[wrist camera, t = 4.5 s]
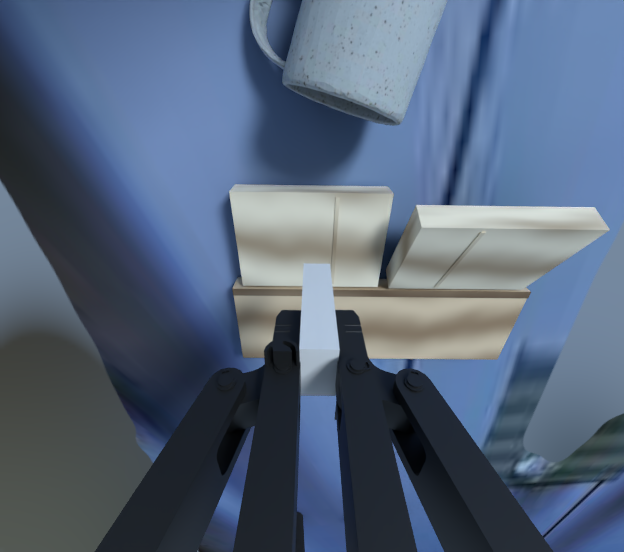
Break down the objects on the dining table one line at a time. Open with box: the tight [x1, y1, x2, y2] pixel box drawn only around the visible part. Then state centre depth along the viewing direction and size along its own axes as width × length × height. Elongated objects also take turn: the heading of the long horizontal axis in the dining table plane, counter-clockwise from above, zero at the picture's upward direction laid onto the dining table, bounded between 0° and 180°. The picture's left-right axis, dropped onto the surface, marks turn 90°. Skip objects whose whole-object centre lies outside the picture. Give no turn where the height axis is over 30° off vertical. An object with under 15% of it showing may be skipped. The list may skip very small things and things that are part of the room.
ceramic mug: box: [249, 0, 447, 126], centre depth 15 cm, size 11×8×8 cm
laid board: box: [232, 277, 531, 359], centre depth 29 cm, size 9×28×2 cm, turn 89°
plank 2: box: [386, 205, 609, 290], centre depth 23 cm, size 9×12×2 cm
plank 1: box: [229, 184, 394, 287], centre depth 24 cm, size 9×12×2 cm
